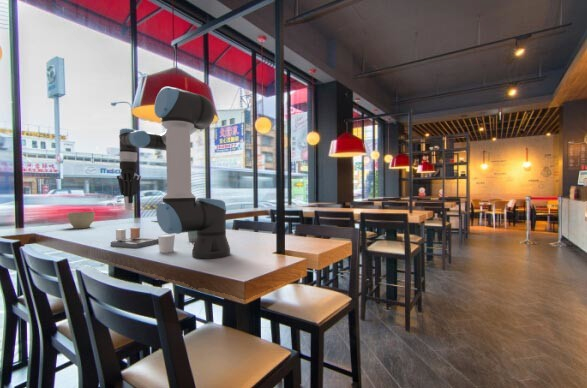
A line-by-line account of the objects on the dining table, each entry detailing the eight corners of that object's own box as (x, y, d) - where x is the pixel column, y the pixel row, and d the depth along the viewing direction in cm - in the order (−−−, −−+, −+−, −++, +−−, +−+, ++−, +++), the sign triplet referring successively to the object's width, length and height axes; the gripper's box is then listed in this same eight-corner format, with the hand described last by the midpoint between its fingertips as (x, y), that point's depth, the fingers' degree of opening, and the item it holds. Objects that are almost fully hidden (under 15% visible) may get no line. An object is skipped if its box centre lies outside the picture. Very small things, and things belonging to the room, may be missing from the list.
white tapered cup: (164, 253, 127) (164, 237, 127) (154, 251, 130) (154, 235, 130) (178, 250, 133) (178, 234, 132) (168, 249, 136) (168, 233, 136)
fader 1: (126, 239, 147) (125, 229, 147) (121, 240, 144) (120, 230, 144) (120, 239, 148) (120, 229, 148) (115, 240, 145) (115, 229, 145)
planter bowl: (77, 226, 221) (76, 211, 221) (99, 226, 222) (99, 211, 222) (61, 229, 205) (61, 213, 205) (86, 229, 206) (85, 213, 206)
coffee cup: (198, 242, 153) (198, 219, 152) (182, 242, 154) (182, 218, 154) (206, 240, 161) (206, 217, 161) (191, 239, 163) (191, 217, 162)
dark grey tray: (159, 243, 151) (159, 238, 151) (136, 248, 138) (136, 243, 138) (134, 241, 157) (134, 237, 157) (110, 246, 143) (110, 241, 143)
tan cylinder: (140, 237, 153) (140, 227, 153) (135, 238, 150) (135, 228, 150) (134, 237, 154) (134, 227, 154) (130, 238, 151) (130, 228, 151)
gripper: (145, 161, 147) (145, 209, 148) (124, 162, 151) (125, 208, 152) (132, 160, 140) (132, 210, 140) (111, 160, 144) (111, 209, 145)
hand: (128, 209), depth 146 cm, fingers closed
